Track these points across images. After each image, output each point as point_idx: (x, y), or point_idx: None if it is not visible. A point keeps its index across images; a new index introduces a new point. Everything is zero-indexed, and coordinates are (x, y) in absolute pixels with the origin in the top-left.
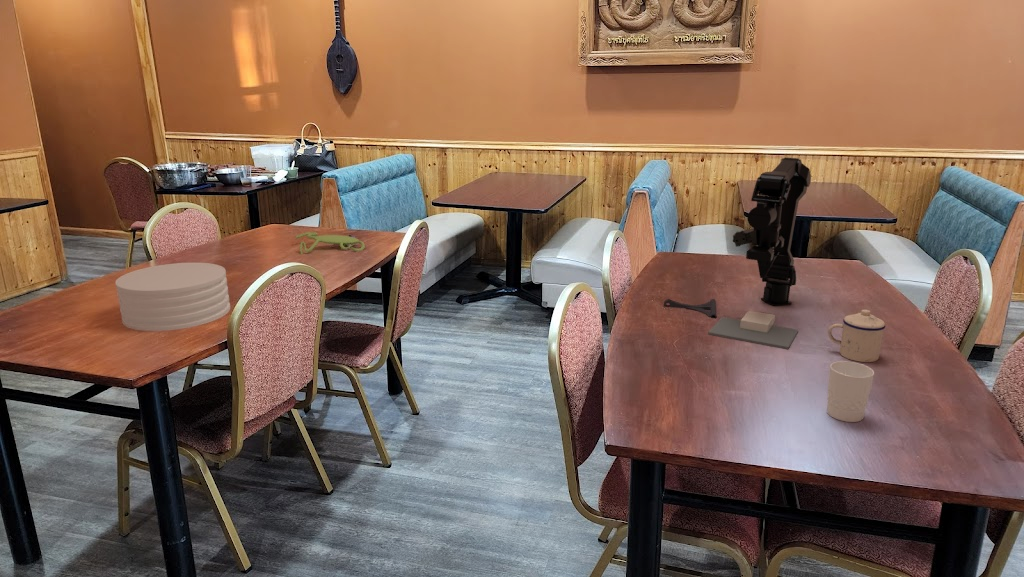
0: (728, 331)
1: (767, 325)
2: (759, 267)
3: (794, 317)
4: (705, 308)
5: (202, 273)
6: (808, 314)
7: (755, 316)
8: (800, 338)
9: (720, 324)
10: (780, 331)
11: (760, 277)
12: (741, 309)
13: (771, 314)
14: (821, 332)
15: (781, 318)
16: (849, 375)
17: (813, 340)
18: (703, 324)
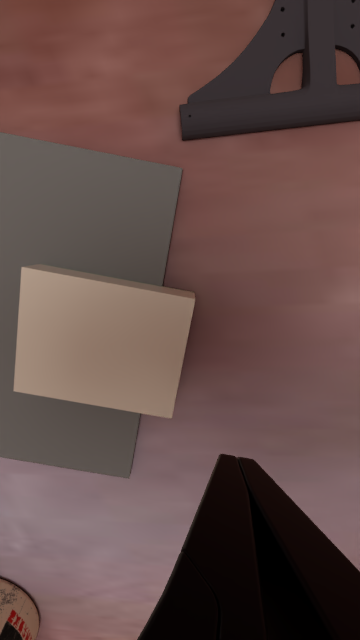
0: None
1: (15, 387)
2: (180, 561)
3: (301, 465)
4: (305, 58)
5: None
6: (353, 511)
7: (112, 334)
8: (64, 477)
9: (61, 168)
10: (81, 420)
11: (219, 456)
12: (356, 255)
13: (172, 403)
14: (158, 539)
15: (273, 421)
16: None
17: (63, 513)
18: (61, 80)
